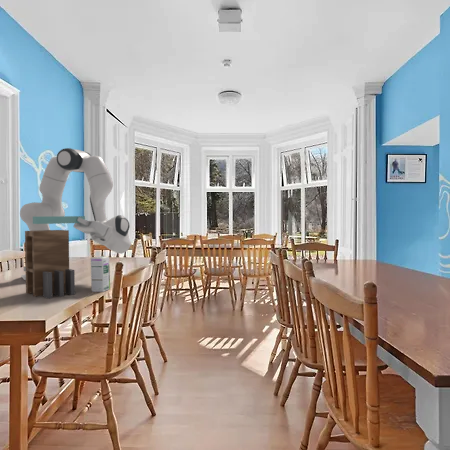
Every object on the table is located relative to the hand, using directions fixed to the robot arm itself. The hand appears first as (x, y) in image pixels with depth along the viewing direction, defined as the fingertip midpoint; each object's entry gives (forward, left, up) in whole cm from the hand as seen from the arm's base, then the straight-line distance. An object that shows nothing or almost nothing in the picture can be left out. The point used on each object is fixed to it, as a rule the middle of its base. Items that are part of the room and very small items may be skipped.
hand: (75, 218), depth 168 cm
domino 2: (+10, -12, -31) cm, 35 cm away
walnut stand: (0, -12, -31) cm, 33 cm away
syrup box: (+13, +5, -31) cm, 34 cm away
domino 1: (+10, -16, -31) cm, 36 cm away
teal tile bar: (0, -7, -2) cm, 7 cm away
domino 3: (+10, -7, -31) cm, 33 cm away
